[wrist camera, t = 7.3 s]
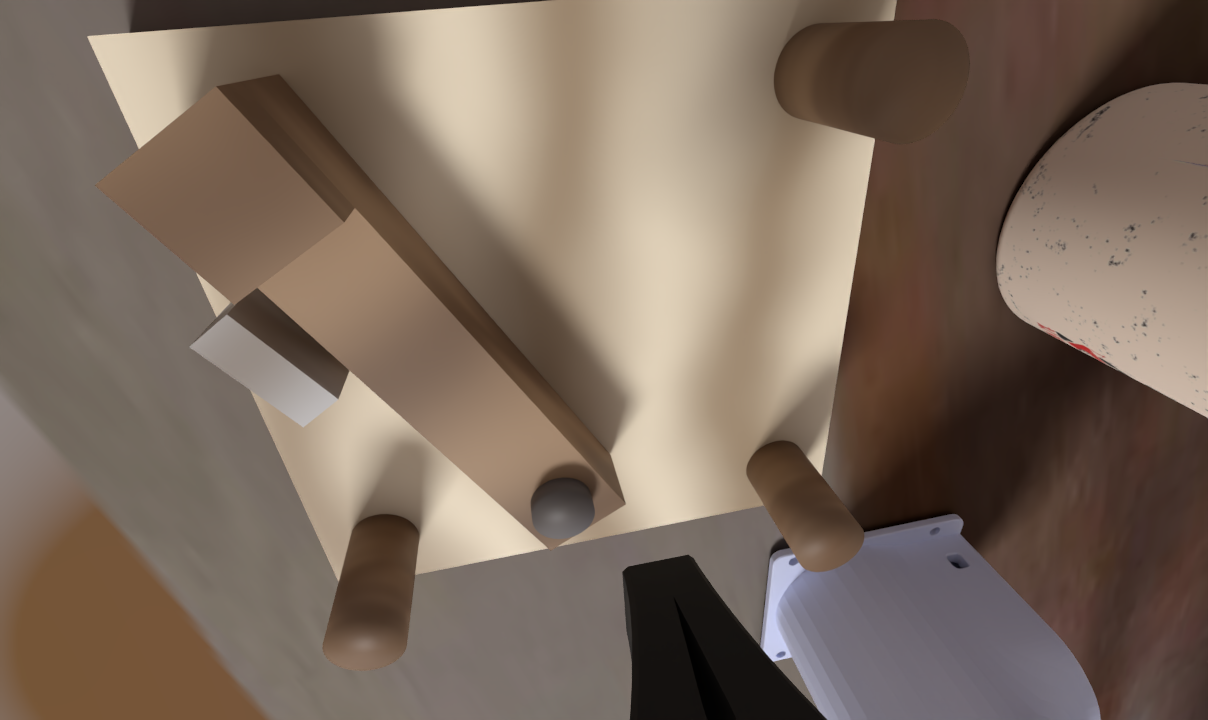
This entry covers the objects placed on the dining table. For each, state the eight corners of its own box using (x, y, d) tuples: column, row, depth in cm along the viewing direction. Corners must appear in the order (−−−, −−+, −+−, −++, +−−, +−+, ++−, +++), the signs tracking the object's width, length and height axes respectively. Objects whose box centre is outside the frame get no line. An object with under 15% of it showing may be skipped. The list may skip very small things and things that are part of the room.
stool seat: (862, -22, 15) (1039, -47, 10) (798, 467, 24) (879, 576, 19) (128, 36, 13) (-78, 36, 8) (350, 554, 22) (314, 702, 17)
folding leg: (610, 454, 19) (634, 531, 16) (543, 497, 20) (554, 579, 17) (278, 74, 12) (215, 86, 9) (184, 150, 13) (94, 185, 10)
